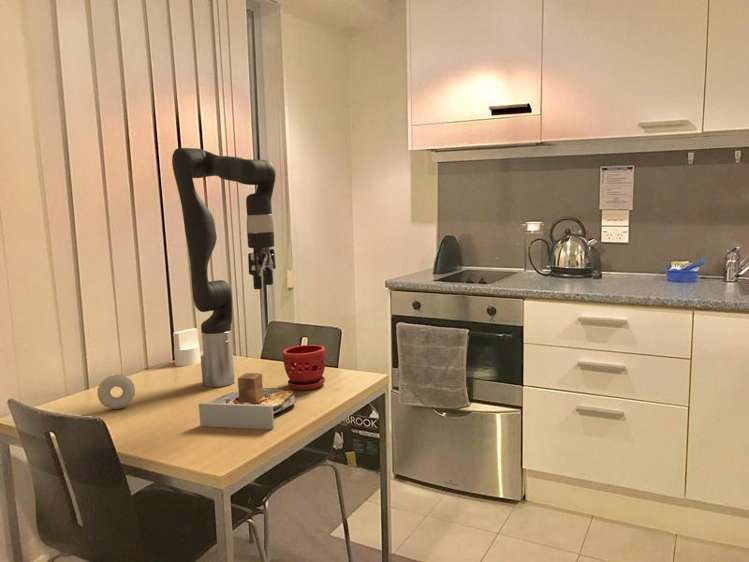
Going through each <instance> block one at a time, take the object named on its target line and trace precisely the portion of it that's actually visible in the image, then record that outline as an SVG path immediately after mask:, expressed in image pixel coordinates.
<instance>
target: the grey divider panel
mask: <svg viewBox="0 0 749 562" xmlns="http://www.w3.org/2000/svg"><path fill="white" fill-rule="evenodd" d="M198 412H199V413H198V414H199V426H200V427H213V428H231V429H232V428H235V429H256V430H257V429H258V430H274V429H275V420H274V419H275V418H274V414H273V405H259V404H257V405H251V404H235V403H231V404H228V403H227V404H224V403H209V402H199V403H198Z"/></svg>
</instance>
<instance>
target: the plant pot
mask: <svg viewBox="0 0 749 562" xmlns="http://www.w3.org/2000/svg"><path fill="white" fill-rule="evenodd" d="M282 360H283V367H284V371H285V373H286V375H287V377H288V381H287V384H288V386H289V387H290V388H292V389H294V390H300V391H301V390H302V391H304V390H305V391H306V390H313V389H317V388H320V387H321V386H322V385H324V384H325V381H326V378H325V376H324V372H325V369H326V348H325V347H324V346H323V345H318V344H301V345H295V346H291V347H288V348H285V349H283V351H282Z"/></svg>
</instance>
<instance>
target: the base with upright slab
mask: <svg viewBox="0 0 749 562" xmlns="http://www.w3.org/2000/svg"><path fill="white" fill-rule="evenodd" d="M172 335H173V346H174V347H173V352H174V353H173V354H174V364H175V366H178V367H188V366H189V367H190V366H195V365H198V364H201V350H200V348H201V347H200V344H199V330H198V328H195V327H193V328H188V329H183V330H179V331H174V332H173V333H172Z"/></svg>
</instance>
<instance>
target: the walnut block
mask: <svg viewBox="0 0 749 562" xmlns="http://www.w3.org/2000/svg"><path fill="white" fill-rule="evenodd" d="M237 387H238V391H239V403H257V402H258V401H259V400H261V399H262V398H263V388H264V387H263V374H262V373H260V372H259V373H257V372H245V373H244V374H241V375H240V376H239V377H238V378H237Z"/></svg>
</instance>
